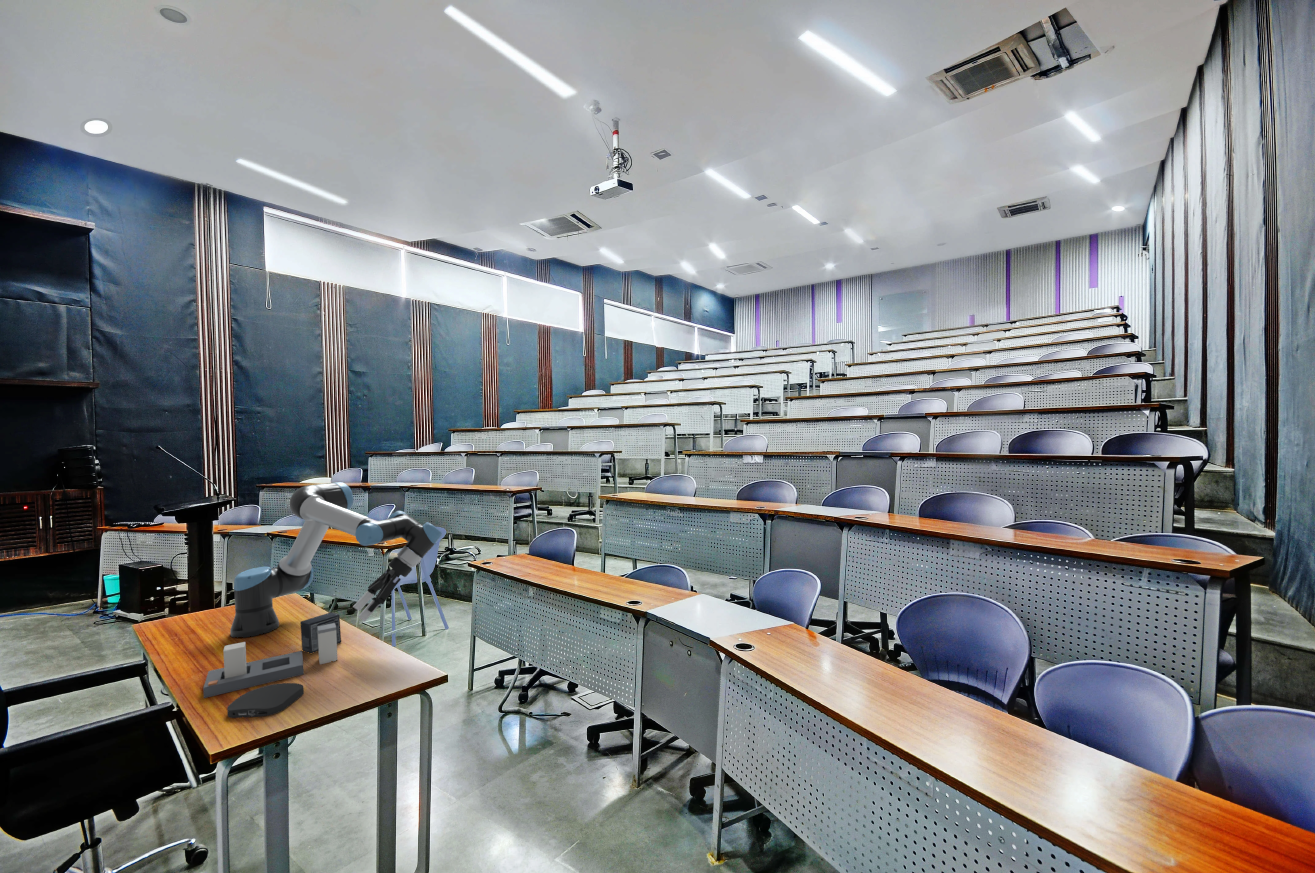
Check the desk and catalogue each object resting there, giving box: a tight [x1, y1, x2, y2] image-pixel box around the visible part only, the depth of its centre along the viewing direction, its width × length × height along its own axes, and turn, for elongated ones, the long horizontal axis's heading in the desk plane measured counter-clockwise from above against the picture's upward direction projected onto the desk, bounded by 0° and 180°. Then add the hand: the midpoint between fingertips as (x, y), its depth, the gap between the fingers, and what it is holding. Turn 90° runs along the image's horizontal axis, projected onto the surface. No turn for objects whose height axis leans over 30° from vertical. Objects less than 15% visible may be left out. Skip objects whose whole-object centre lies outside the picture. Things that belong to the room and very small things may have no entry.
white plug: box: [317, 623, 338, 665], centre depth 180 cm, size 5×5×11 cm
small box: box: [299, 612, 342, 654], centre depth 192 cm, size 11×6×10 cm, turn 149°
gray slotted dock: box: [202, 641, 305, 699], centre depth 168 cm, size 14×24×11 cm, turn 125°
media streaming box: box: [226, 682, 305, 719], centre depth 151 cm, size 15×15×3 cm
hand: (358, 613), depth 185 cm, fingers open, 13 cm apart
